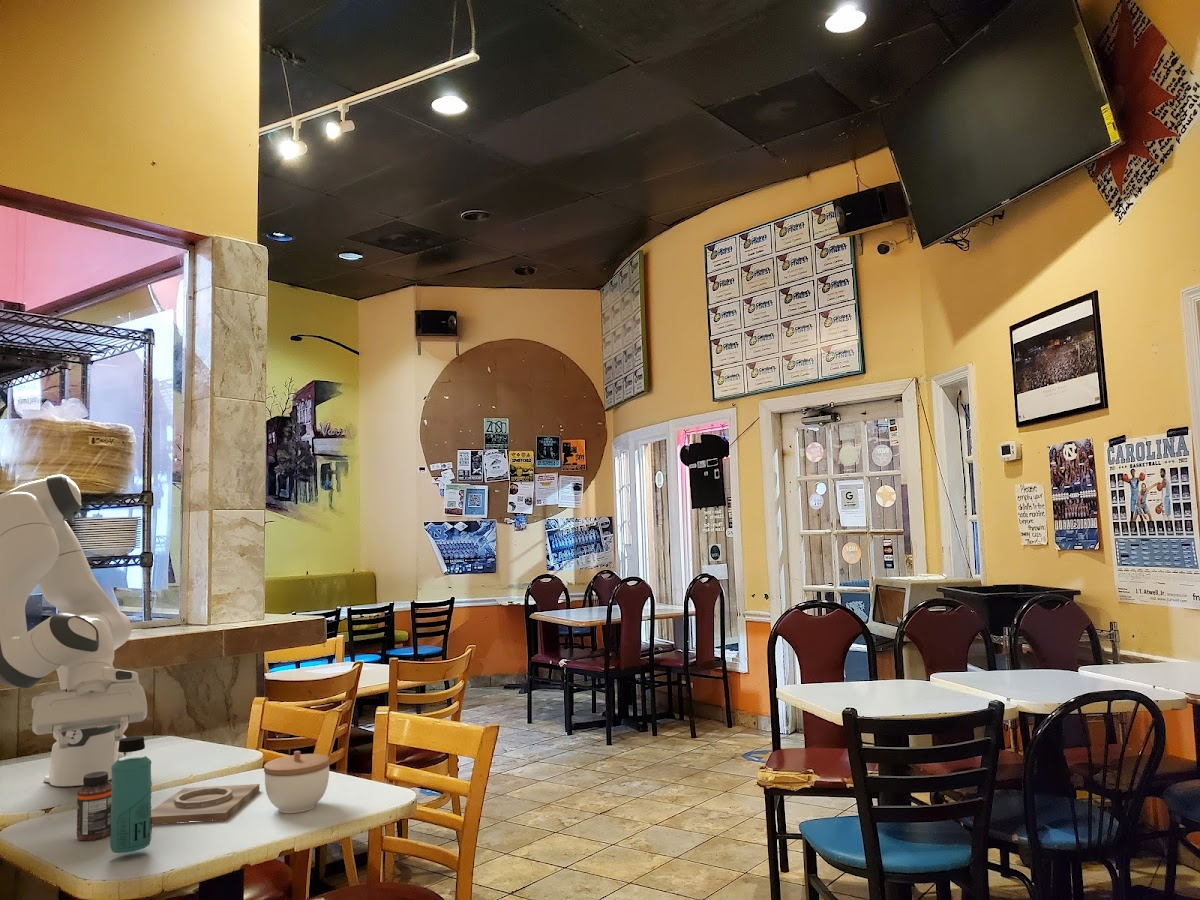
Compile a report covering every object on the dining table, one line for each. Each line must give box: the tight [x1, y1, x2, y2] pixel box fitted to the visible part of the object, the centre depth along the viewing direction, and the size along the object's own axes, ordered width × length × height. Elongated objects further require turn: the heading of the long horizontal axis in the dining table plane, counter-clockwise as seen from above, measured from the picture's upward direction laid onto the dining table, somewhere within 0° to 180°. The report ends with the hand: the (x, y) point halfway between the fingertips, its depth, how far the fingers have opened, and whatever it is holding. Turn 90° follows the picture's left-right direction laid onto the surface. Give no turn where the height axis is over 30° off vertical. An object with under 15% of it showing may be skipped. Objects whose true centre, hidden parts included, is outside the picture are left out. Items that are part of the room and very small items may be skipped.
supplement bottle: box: [76, 771, 112, 842], centre depth 163 cm, size 6×6×11 cm
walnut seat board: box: [151, 783, 261, 825], centre depth 179 cm, size 20×16×2 cm
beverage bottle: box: [109, 735, 153, 854], centre depth 153 cm, size 6×7×20 cm
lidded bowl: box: [263, 750, 331, 814], centre depth 176 cm, size 13×13×11 cm
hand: (91, 743), depth 173 cm, fingers open, 8 cm apart
